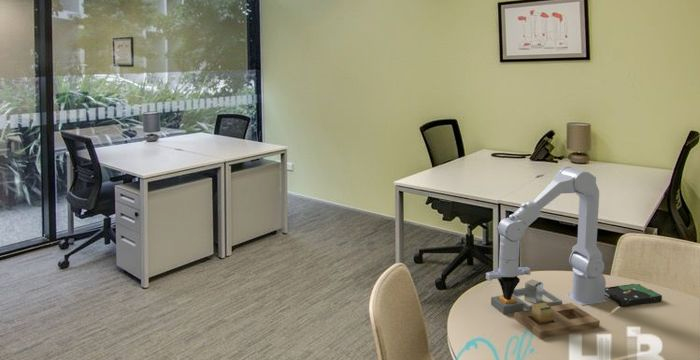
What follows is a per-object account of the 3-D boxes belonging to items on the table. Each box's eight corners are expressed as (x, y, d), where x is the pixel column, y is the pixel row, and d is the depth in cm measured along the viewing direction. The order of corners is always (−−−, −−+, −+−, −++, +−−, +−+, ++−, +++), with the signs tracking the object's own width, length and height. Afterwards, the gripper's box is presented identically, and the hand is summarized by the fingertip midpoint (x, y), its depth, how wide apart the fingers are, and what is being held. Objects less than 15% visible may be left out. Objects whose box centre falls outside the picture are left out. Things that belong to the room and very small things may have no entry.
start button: (508, 303, 161) (509, 295, 160) (515, 308, 158) (515, 299, 157) (498, 305, 160) (499, 296, 159) (505, 310, 157) (505, 301, 156)
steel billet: (530, 296, 166) (531, 278, 165) (542, 300, 164) (543, 282, 162) (524, 300, 164) (525, 282, 163) (535, 304, 161) (536, 286, 160)
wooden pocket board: (570, 310, 157) (571, 302, 157) (599, 328, 146) (599, 320, 145) (514, 320, 152) (514, 312, 151) (539, 340, 141) (539, 331, 140)
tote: (537, 291, 171) (538, 285, 171) (561, 306, 160) (562, 300, 159) (505, 296, 168) (506, 290, 167) (528, 312, 156) (528, 306, 156)
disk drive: (622, 309, 158) (662, 303, 161) (623, 301, 158) (663, 295, 161) (599, 295, 168) (637, 289, 171) (599, 288, 167) (637, 282, 171)
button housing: (510, 302, 163) (510, 294, 163) (523, 312, 157) (523, 303, 156) (490, 305, 161) (491, 297, 161) (503, 315, 155) (503, 306, 154)
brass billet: (542, 321, 150) (543, 301, 149) (551, 327, 146) (552, 307, 145) (531, 323, 149) (532, 303, 148) (539, 329, 145) (540, 309, 144)
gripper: (521, 250, 161) (519, 290, 164) (481, 255, 157) (479, 296, 160) (535, 257, 154) (533, 299, 157) (493, 263, 151) (491, 305, 153)
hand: (507, 298), depth 158 cm, fingers closed, pressing on start button
